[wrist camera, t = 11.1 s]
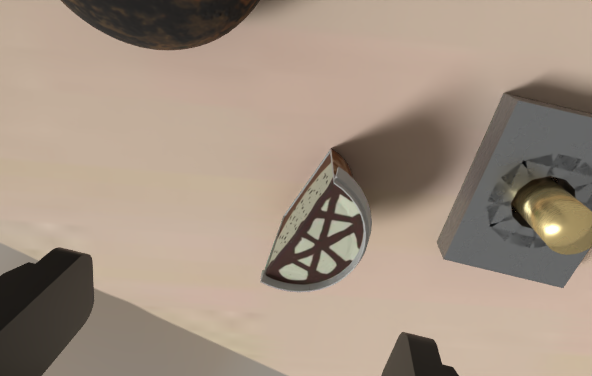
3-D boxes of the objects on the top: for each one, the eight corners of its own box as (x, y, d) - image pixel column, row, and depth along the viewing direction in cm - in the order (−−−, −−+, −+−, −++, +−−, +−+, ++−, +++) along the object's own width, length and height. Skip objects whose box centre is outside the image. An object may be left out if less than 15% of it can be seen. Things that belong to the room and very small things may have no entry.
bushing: (517, 165, 35) (561, 204, 28) (559, 175, 35) (613, 217, 28) (498, 202, 37) (535, 247, 30) (538, 211, 37) (585, 259, 30)
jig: (503, 93, 33) (518, 100, 30) (639, 124, 33) (666, 135, 30) (436, 242, 40) (443, 259, 37) (548, 269, 40) (563, 288, 37)
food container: (323, 253, 42) (317, 319, 33) (276, 226, 41) (257, 286, 32) (391, 169, 37) (407, 219, 28) (339, 135, 36) (338, 176, 27)
